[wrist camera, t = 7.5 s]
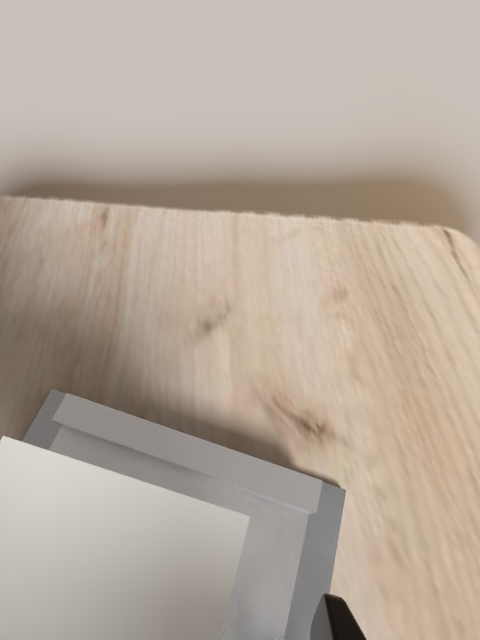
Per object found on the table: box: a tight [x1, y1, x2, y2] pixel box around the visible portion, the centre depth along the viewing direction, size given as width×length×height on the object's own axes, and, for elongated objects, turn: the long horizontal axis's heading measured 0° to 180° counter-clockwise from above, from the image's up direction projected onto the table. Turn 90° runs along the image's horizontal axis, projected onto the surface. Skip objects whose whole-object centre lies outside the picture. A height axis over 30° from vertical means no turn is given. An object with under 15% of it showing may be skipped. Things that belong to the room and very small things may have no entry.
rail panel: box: [21, 389, 346, 640], centre depth 14 cm, size 13×14×2 cm
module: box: [0, 436, 250, 640], centre depth 10 cm, size 5×5×10 cm
